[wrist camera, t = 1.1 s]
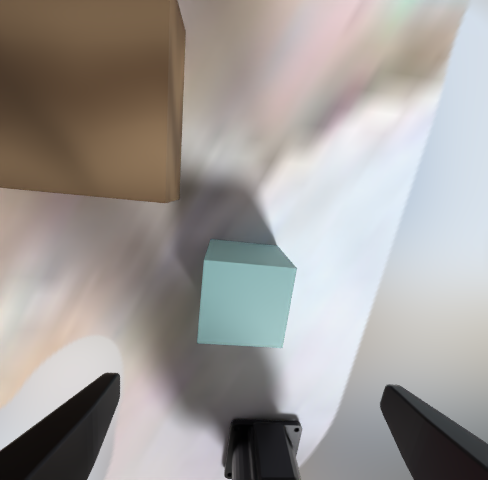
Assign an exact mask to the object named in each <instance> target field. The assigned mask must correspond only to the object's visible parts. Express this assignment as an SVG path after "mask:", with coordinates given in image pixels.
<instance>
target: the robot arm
mask: <svg viewBox="0 0 488 480" xmlns="http://www.w3.org/2000/svg"><path fill="white" fill-rule="evenodd" d="M119 398H120V375H119V374H118V373H105V374H103V375H102V376H100V377H99V378H97V379H96V380H95V381H94V382H92V383H91V384H89V385H88V386H87V387H85V388H84V389H83V390H81V391H80V392H79V393H77V394H76V395H75V396H73V397H72V398H71V399H69V400H68V401H67V402H66V403H64V404H63V405H61V406H60V407H58V408H57V409H56V410H55V411H53V412H52V413H50V414H49V415H48V416H46V417H45V418H44V419H42V420H41V421H40V422H38V423H37V424H36V425H34V426H33V427H32V428H30V429H29V430H28V431H26V432H25V433H24V434H22V435H21V436H20V437H18V438H17V439H15V440H14V441H13V442H11V443H10V444H9V445H7V446H6V447H5V448H3V449H2V450H1V451H0V480H87V479H88V476H89V474H90V472H91V470H92V468H93V466H94V463H95V461H96V458H97V456H98V454H99V451H100V448H101V446H102V443H103V441H104V438H105V436H106V433H107V430H108V428H109V425H110V423H111V420H112V417H113V415H114V412H115V410H116V407H117V405H118V402H119ZM380 407H381V411H382V413H383V416H384V418H385V420H386V422H387V424H388V426H389V429H390V431H391V433H392V435H393V437H394V440H395V442H396V444H397V446H398V448H399V451H400V453H401V455H402V457H403V459H404V461H405V463H406V465H407V467H408V469H409V471H410V473H411V475H412V477H413V479H414V480H488V444H487V443H486V442H484V441H483V440H481V439H479V438H478V437H477V436H475V435H473V434H472V433H471V432H469V431H468V430H466V429H465V428H463V427H462V426H460V425H458V424H457V423H456V422H454V421H452V420H451V419H450V418H448V417H446V416H445V415H444V414H442V413H440V412H439V411H437V410H436V409H434V408H433V407H431V406H430V405H428V404H427V403H425V402H424V401H422V400H421V399H419V398H418V397H416V396H415V395H413V394H412V393H410V392H409V391H407V390H406V389H404V388H403V387H401V386H399V385H390V384H389V385H387V386H385V389H384V392H383V395H382V399H381V402H380ZM301 432H302V427H301V424H300V422H298V421H270V420H234V421H232V422H231V426H230V433H229V440H228V448H227V455H226V463H225V477H226V478H227V479H232V480H301V476H300V472H299V468H298V464H297V460H296V455H297V450H298V446H299V441H300V437H301Z"/></svg>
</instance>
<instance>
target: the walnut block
mask: <svg viewBox="0 0 488 480" xmlns="http://www.w3.org/2000/svg"><path fill="white" fill-rule="evenodd" d="M185 33H186V31H185V27H184V24H183V20H182V16H181V13H180V9H179V5H178V2H177V0H0V188H10V189H20V190H31V191H42V192H52V193H63V194H73V195H84V196H95V197H105V198H116V199H127V200H137V201H148V202H159V203H168V202H172V201H175V200H179V197H180V170H181V142H182V115H183V88H184V60H185Z"/></svg>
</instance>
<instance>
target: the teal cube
mask: <svg viewBox="0 0 488 480" xmlns="http://www.w3.org/2000/svg"><path fill="white" fill-rule="evenodd" d="M296 270H297V268H296V267H295V266H294V265H293V263H292V262H291V261H290V260H289V259H288V258H287V256H286V255H285V254H284V253H283V252H282V251H281V249H280V248H279V247H278V246H276V245H266V244H256V243H246V242H236V241H226V240H216V239H211V240H210V243H209V246H208V249H207V252H206V255H205V258H204V266H203V278H202V289H201V301H200V313H199V325H198V337H197V343H200V344H218V345H237V346H255V347H273V348H283V342H284V336H285V331H286V325H287V320H288V314H289V309H290V303H291V298H292V292H293V287H294V281H295V276H296Z"/></svg>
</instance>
